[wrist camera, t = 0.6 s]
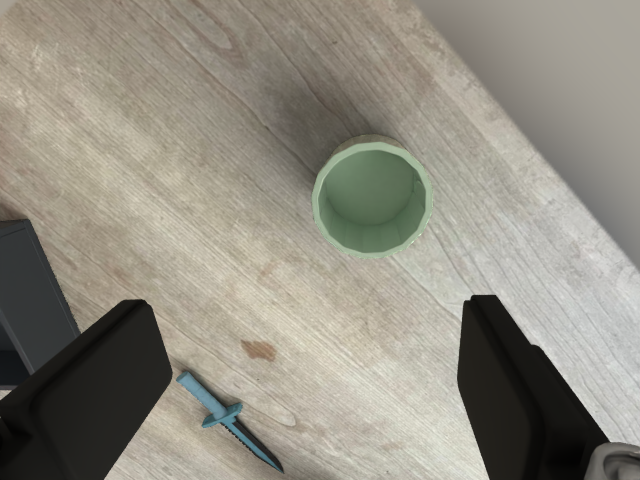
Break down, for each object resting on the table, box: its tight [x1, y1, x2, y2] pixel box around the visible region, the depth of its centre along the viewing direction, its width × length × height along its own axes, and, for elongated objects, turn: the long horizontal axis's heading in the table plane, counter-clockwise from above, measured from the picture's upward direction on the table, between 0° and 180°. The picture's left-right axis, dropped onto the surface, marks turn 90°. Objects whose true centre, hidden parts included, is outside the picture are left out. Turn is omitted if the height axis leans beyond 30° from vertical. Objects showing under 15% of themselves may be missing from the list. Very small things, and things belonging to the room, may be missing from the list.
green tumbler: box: [311, 134, 433, 259], centre depth 21 cm, size 7×7×6 cm
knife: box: [176, 371, 284, 474], centre depth 35 cm, size 17×1×5 cm
